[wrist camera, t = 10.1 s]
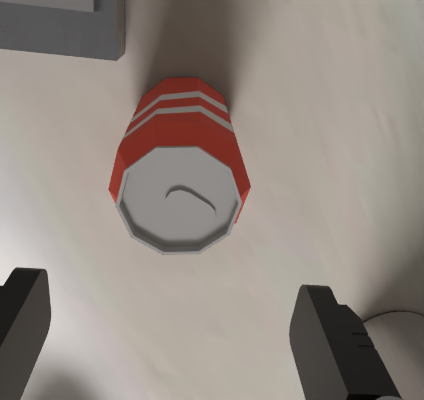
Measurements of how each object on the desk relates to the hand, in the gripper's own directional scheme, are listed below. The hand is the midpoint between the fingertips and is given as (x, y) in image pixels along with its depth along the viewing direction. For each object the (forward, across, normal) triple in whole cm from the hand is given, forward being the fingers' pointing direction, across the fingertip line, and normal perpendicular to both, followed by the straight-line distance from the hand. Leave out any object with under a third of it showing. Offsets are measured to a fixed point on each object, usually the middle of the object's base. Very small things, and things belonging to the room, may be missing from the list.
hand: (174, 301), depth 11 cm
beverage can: (+18, 0, 0) cm, 18 cm away
